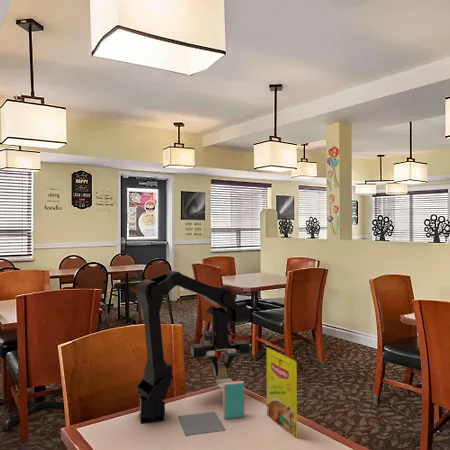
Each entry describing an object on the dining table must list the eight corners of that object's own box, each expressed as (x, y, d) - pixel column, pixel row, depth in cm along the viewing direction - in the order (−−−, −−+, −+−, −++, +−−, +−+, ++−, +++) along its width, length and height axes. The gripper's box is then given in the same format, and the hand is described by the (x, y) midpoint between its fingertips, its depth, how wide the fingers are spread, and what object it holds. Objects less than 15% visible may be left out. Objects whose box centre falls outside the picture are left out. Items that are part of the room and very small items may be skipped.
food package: (265, 415, 124) (264, 347, 125) (268, 414, 125) (268, 346, 125) (295, 439, 110) (294, 361, 111) (298, 438, 111) (298, 361, 111)
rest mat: (185, 436, 112) (185, 435, 112) (178, 417, 124) (178, 416, 124) (225, 430, 115) (225, 429, 115) (214, 412, 127) (214, 411, 127)
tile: (224, 419, 122) (224, 384, 122) (223, 417, 123) (222, 382, 123) (244, 417, 123) (244, 382, 123) (242, 414, 125) (242, 380, 125)
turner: (209, 373, 141) (209, 361, 141) (224, 372, 143) (223, 360, 143) (220, 388, 128) (220, 374, 128) (236, 386, 129) (236, 373, 129)
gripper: (240, 319, 148) (240, 365, 147) (187, 323, 142) (187, 370, 142) (251, 326, 137) (251, 375, 137) (194, 330, 132) (194, 381, 132)
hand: (220, 375), depth 137 cm, fingers closed on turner, 2 cm apart
